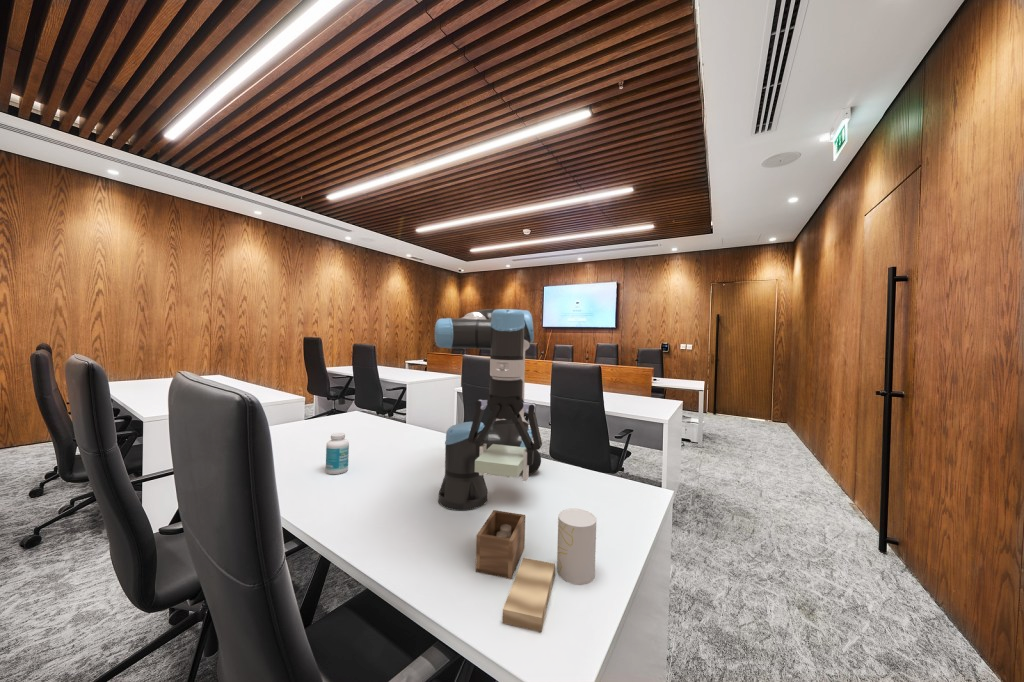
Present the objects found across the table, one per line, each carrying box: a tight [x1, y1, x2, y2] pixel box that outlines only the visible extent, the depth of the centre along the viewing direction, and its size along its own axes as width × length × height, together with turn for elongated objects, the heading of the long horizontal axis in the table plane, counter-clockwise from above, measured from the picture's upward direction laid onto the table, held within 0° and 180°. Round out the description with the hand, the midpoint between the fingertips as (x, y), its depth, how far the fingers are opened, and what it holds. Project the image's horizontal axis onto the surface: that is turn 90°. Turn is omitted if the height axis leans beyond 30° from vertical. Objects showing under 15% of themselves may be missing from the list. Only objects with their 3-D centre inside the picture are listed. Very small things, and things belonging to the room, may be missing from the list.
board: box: [501, 557, 556, 633], centre depth 73 cm, size 16×7×2 cm, turn 165°
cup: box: [556, 508, 597, 586], centre depth 81 cm, size 8×8×12 cm
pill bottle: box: [325, 432, 350, 475], centre depth 135 cm, size 8×7×14 cm
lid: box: [475, 444, 526, 478], centre depth 85 cm, size 12×10×3 cm
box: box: [475, 509, 526, 580], centre depth 85 cm, size 12×8×8 cm, turn 165°
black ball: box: [521, 450, 542, 475], centre depth 138 cm, size 10×10×10 cm
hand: (503, 476), depth 85 cm, fingers closed on lid, 9 cm apart
